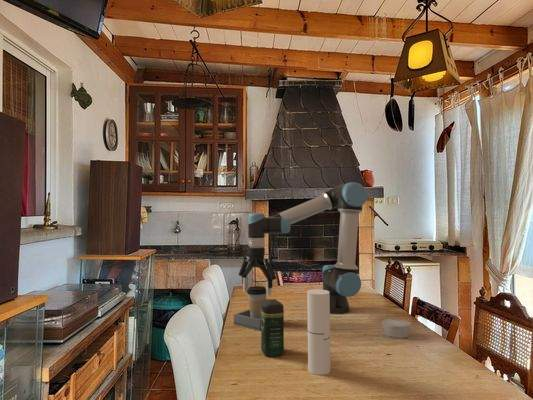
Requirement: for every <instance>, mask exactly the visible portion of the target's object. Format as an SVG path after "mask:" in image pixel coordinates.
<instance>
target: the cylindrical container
mask: <svg viewBox="0 0 533 400" xmlns="http://www.w3.org/2000/svg"><path fill="white" fill-rule="evenodd" d="M306 295H307V296H306V297H307V298H306V299H307V305H306V306H307V371H308V372H309V373H310V374H313V375H316V376H324V375H328V374H330V373H331V313H330V292H329V291H327V290H323V289H309V290H307V291H306Z"/></svg>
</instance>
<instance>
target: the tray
mask: <svg viewBox="0 0 533 400" xmlns="http://www.w3.org/2000/svg"><path fill="white" fill-rule="evenodd" d="M233 325H235V326H238V327H243V328H248V329H251V330H256V331H259V332H260V331H261V319H256V318H252V317H251V316H250V310H249V308H248V309H245V310H243V311H240V312H236V313H234V314H233Z"/></svg>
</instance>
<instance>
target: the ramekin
mask: <svg viewBox="0 0 533 400" xmlns="http://www.w3.org/2000/svg"><path fill="white" fill-rule="evenodd" d="M381 324H382V328H383V333H384V334H385V336H387V337H390V338H392V337H393V339H407V338H409V336H410V333H411V332H410V331H411V327H412V323H411V322H410V321H408V320H406V319H402V318H394V317H393V318H392V317H391V318H385V319H383V320H382V321H381ZM406 337H407V338H406Z"/></svg>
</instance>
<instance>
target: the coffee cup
mask: <svg viewBox="0 0 533 400" xmlns="http://www.w3.org/2000/svg"><path fill="white" fill-rule="evenodd" d="M246 294H247V297H248V299H247V301H248V309H249V310H250V316H251V317H252V318H256V319H261V304H262V302H263V301H265V300H267V296H266V287H265V286H260V285H259V286H256V285H255V286H248V290H247V292H246Z"/></svg>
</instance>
